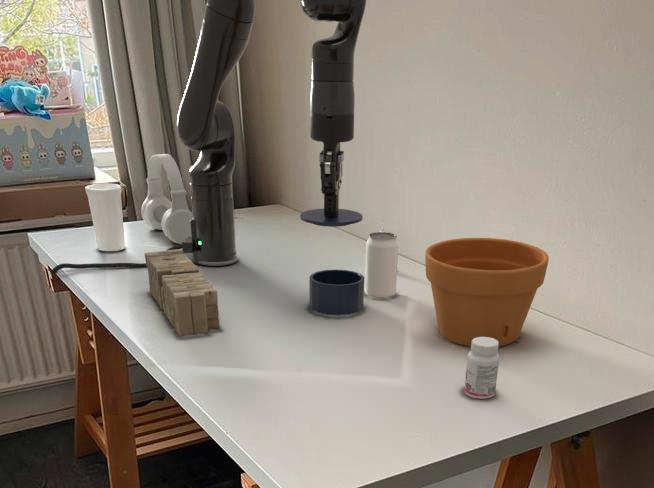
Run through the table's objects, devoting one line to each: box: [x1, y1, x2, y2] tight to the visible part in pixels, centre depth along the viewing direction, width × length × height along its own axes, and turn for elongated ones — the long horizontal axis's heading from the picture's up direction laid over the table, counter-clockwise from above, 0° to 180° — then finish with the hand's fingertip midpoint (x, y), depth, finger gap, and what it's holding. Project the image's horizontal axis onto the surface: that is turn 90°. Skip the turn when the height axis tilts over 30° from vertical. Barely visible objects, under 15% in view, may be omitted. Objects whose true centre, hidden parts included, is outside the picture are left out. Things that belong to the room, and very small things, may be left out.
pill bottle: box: [463, 337, 500, 400], centre depth 117 cm, size 5×5×8 cm
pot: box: [308, 269, 365, 316], centre depth 150 cm, size 10×10×6 cm
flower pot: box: [424, 237, 550, 348], centre depth 138 cm, size 21×21×15 cm
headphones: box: [140, 153, 193, 245], centre depth 193 cm, size 20×8×19 cm, turn 31°
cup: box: [84, 183, 126, 252], centre depth 182 cm, size 8×8×14 cm
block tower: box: [144, 248, 220, 337], centre depth 147 cm, size 8×8×29 cm
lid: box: [299, 185, 364, 228], centre depth 140 cm, size 11×11×6 cm
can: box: [364, 231, 399, 298], centre depth 157 cm, size 6×6×12 cm
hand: (331, 214), depth 141 cm, fingers closed on lid, 2 cm apart
